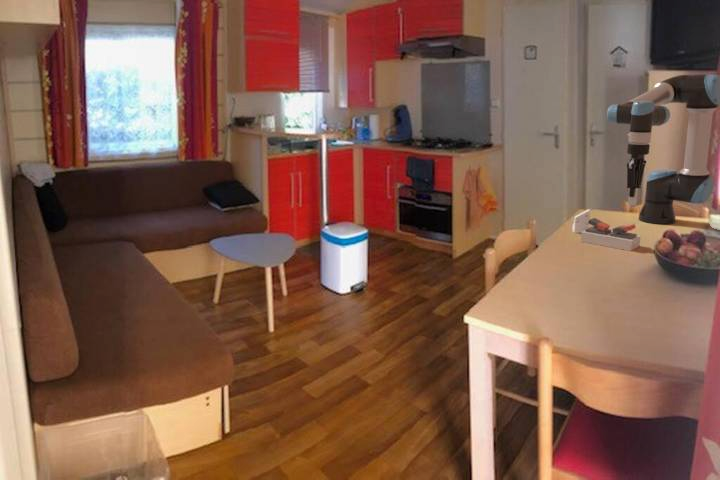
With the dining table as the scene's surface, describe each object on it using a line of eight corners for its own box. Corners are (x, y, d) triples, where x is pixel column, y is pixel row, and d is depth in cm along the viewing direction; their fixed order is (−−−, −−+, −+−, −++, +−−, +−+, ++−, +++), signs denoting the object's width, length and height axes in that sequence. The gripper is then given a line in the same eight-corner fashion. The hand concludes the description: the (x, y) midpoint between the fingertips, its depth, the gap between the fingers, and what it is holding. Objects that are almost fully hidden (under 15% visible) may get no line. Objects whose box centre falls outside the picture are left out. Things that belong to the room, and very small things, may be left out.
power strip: (590, 237, 252) (591, 225, 251) (639, 245, 239) (640, 233, 237) (580, 241, 246) (581, 229, 245) (630, 250, 233) (631, 238, 231)
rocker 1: (592, 222, 248) (594, 217, 247) (607, 230, 244) (610, 225, 243) (587, 224, 245) (589, 219, 244) (602, 232, 241) (605, 227, 240)
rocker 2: (618, 232, 241) (617, 226, 241) (636, 229, 236) (634, 224, 236) (613, 234, 238) (612, 228, 238) (631, 232, 233) (630, 226, 233)
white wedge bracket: (599, 227, 258) (590, 210, 256) (577, 238, 260) (568, 221, 258) (596, 225, 261) (587, 208, 260) (575, 236, 263) (566, 219, 262)
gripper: (635, 141, 234) (628, 201, 240) (621, 144, 225) (615, 206, 231) (655, 142, 229) (648, 203, 235) (642, 145, 220) (635, 208, 226)
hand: (631, 204), depth 233 cm, fingers closed
